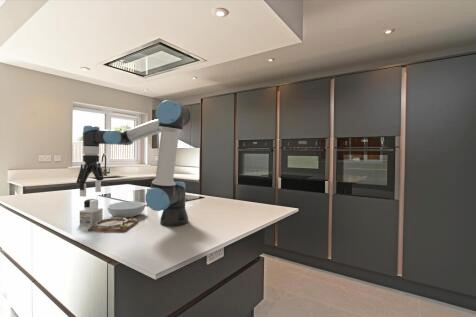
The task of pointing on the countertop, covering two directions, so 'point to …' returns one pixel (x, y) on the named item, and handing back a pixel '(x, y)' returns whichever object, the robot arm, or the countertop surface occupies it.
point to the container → (90, 212)
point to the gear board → (113, 225)
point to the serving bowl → (126, 209)
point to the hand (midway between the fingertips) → (90, 194)
